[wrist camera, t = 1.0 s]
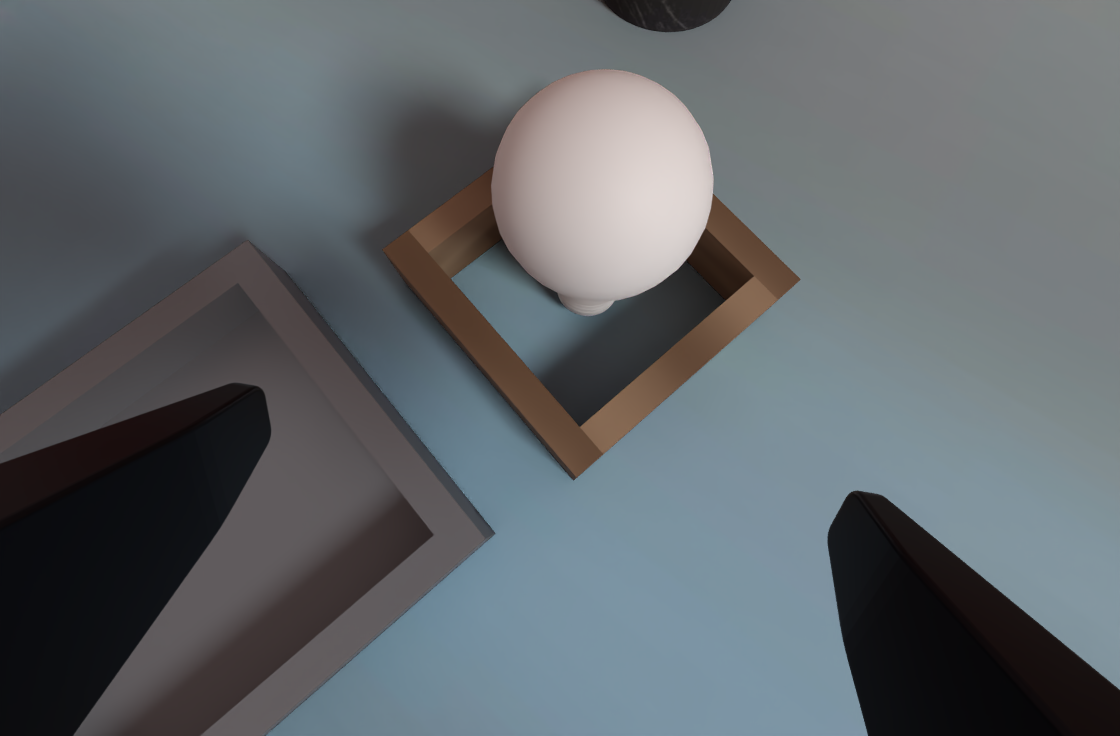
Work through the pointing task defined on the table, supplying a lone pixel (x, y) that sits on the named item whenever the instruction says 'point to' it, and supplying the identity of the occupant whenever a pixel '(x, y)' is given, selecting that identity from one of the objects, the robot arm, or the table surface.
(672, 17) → the travel mug
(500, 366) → the socket block
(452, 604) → the table surface
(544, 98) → the lightbulb
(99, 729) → the tray
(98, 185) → the table surface
